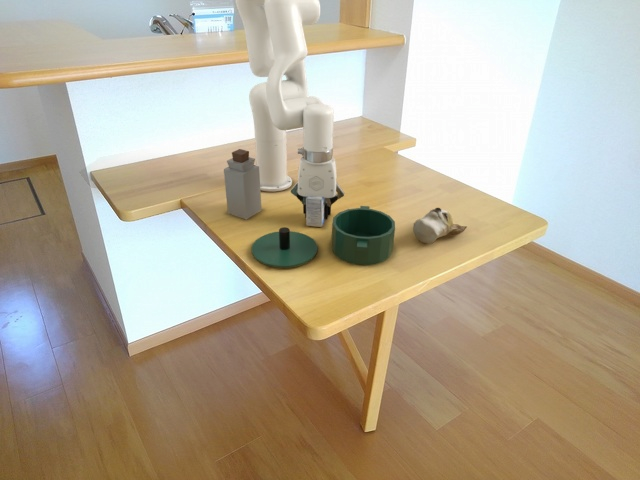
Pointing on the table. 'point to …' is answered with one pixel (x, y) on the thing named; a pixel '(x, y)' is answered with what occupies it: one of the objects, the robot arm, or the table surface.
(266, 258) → the lid
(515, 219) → the table surface
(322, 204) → the medicine box
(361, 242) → the pot
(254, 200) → the perfume bottle
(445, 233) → the ceramic sculpture
